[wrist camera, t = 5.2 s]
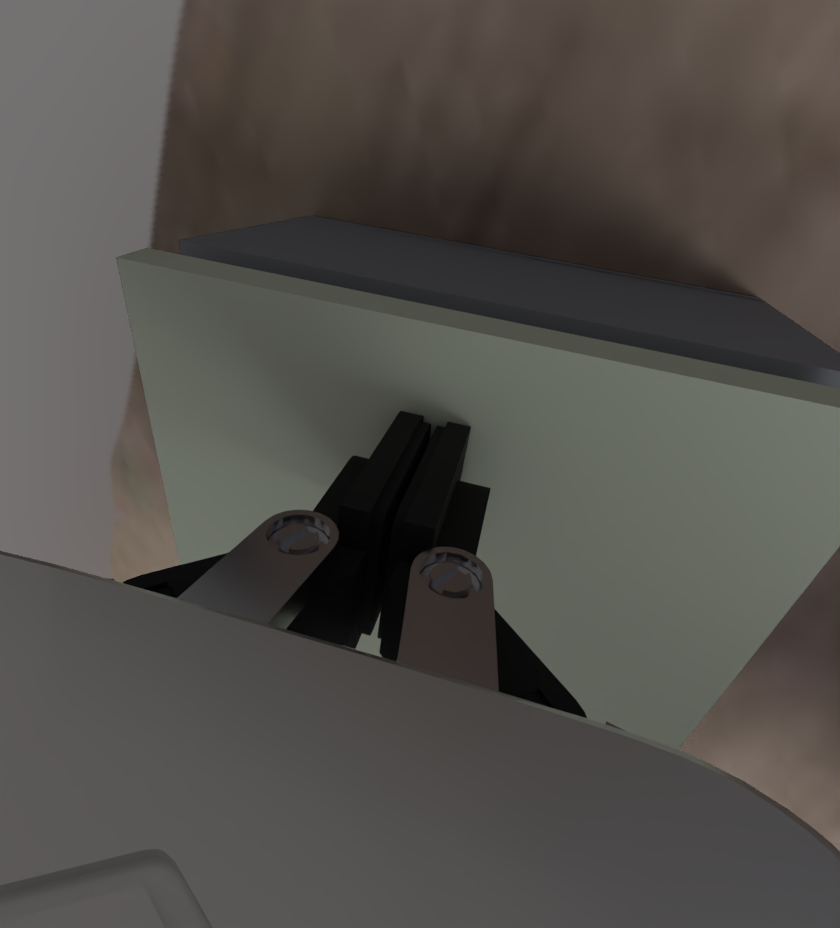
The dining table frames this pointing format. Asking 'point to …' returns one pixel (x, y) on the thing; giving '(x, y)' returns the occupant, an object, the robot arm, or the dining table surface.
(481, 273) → the storage box
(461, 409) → the lid
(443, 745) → the robot arm
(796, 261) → the dining table surface
